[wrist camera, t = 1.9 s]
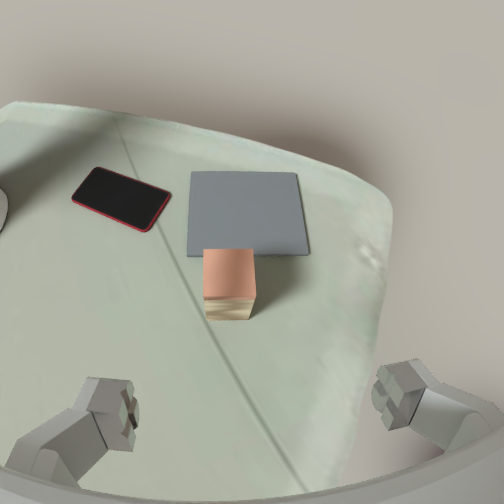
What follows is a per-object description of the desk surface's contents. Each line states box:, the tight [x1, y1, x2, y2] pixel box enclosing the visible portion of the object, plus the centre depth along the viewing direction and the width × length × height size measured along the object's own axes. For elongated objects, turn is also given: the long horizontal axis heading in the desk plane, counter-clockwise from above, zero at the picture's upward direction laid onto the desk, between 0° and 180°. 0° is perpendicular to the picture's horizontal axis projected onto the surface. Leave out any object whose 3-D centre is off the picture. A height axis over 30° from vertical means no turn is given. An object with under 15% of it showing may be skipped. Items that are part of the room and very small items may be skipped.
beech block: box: [203, 249, 256, 321], centre depth 36 cm, size 5×5×9 cm
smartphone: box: [71, 167, 170, 232], centre depth 45 cm, size 7×1×15 cm
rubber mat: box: [187, 171, 309, 257], centre depth 45 cm, size 16×14×1 cm
